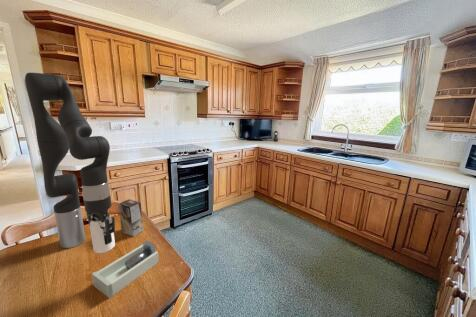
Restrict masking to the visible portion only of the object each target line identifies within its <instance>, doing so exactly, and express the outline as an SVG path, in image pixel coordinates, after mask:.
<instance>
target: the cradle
mask: <svg viewBox="0 0 476 317" xmlns="http://www.w3.org/2000/svg"><path fill="white" fill-rule="evenodd" d="M141 251H143V244H141V245H140V246H137V247H136V248H135V249H132V250H131V251H129V252H128V253H126V254H125V255H123V256H121V257H119V258H118V259H116V260H115V261H113V262H111V263H110V264H108V265H106V266H104V267H103V268H101V269H99V270H98V271H94V272H92V273H91V278H92V283H93V286H94V287H95V289H97V290H99V292H101V293H103V295H105V296H106V297H107V298H108V299H110V298H112V297H114V296H115V295H116V294H117V293H119V292H120V291H122V290H123V289H124V288H125V287H127V286H129V285H130V284H131V283H132V282H133V281H135V280H136V279H138V278H139V277H141V275H143V274H144V273H146V272H147V271H149V270H150V269H151V268H153V267H155V265H157V264H159V262H160V261H159V260H160V258H159V252H158V251H155V253H153V254H152V255H150V256H149V257H147V258H146V259H144V260H143V261H141V262H140V263H138V264H137V265H135V266H134V267H132V268H131V269H129V270H127V268H126V266H125V262H126V261H127V260H129V259H130V258H132V257H133V256H135V255H137V254H138V253H140V252H141Z"/></svg>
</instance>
